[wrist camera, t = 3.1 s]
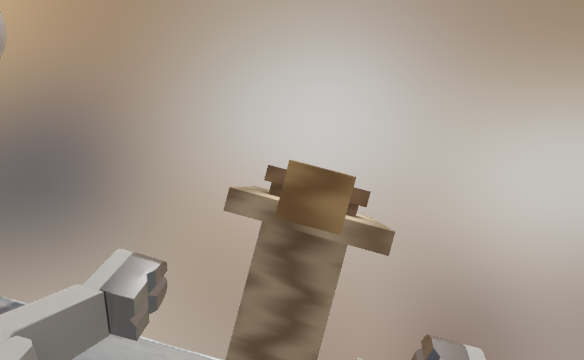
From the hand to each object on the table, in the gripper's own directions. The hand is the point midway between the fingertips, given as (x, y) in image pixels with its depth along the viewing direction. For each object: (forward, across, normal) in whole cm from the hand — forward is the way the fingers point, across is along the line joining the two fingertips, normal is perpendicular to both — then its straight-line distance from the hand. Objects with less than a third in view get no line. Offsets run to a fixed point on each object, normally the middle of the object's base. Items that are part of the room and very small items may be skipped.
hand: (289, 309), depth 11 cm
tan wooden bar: (+17, 0, +7) cm, 18 cm away
